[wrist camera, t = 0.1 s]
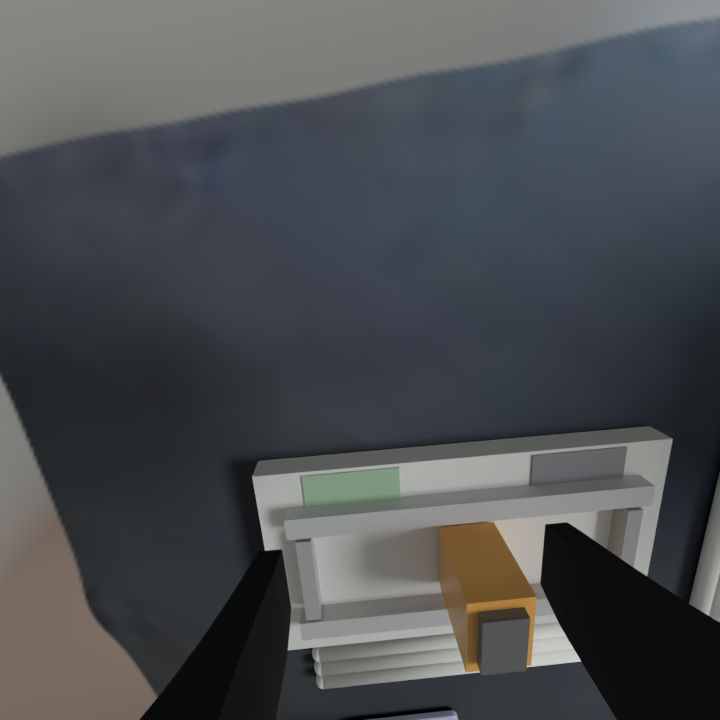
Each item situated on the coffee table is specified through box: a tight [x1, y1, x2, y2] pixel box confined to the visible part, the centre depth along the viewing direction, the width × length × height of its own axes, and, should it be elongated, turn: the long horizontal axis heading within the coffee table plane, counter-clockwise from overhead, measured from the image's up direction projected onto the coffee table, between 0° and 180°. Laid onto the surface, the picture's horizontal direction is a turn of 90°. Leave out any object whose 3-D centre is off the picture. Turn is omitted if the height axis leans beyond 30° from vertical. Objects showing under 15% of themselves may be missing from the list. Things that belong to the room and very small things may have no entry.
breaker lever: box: [439, 522, 537, 675], centre depth 18 cm, size 4×3×5 cm
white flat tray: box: [252, 426, 673, 650], centre depth 21 cm, size 12×22×2 cm, turn 94°
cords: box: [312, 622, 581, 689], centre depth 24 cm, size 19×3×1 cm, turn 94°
